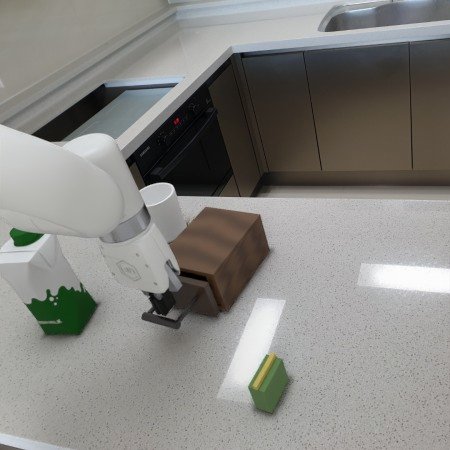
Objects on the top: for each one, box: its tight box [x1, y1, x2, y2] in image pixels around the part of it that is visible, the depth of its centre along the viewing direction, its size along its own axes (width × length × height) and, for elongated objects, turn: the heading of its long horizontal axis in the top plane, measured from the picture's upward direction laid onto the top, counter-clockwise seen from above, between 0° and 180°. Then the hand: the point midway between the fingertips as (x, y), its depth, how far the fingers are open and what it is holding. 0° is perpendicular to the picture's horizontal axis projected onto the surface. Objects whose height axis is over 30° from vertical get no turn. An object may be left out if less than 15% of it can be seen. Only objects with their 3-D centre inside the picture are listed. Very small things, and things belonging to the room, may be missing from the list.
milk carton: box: [0, 227, 98, 336], centre depth 79 cm, size 9×9×20 cm
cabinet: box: [168, 206, 271, 312], centre depth 86 cm, size 17×13×9 cm
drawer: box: [141, 271, 221, 331], centre depth 82 cm, size 22×11×7 cm, turn 155°
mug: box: [139, 182, 188, 244], centre depth 100 cm, size 11×9×10 cm
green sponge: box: [247, 352, 290, 414], centre depth 64 cm, size 3×6×6 cm, turn 156°
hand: (166, 308), depth 75 cm, fingers closed
